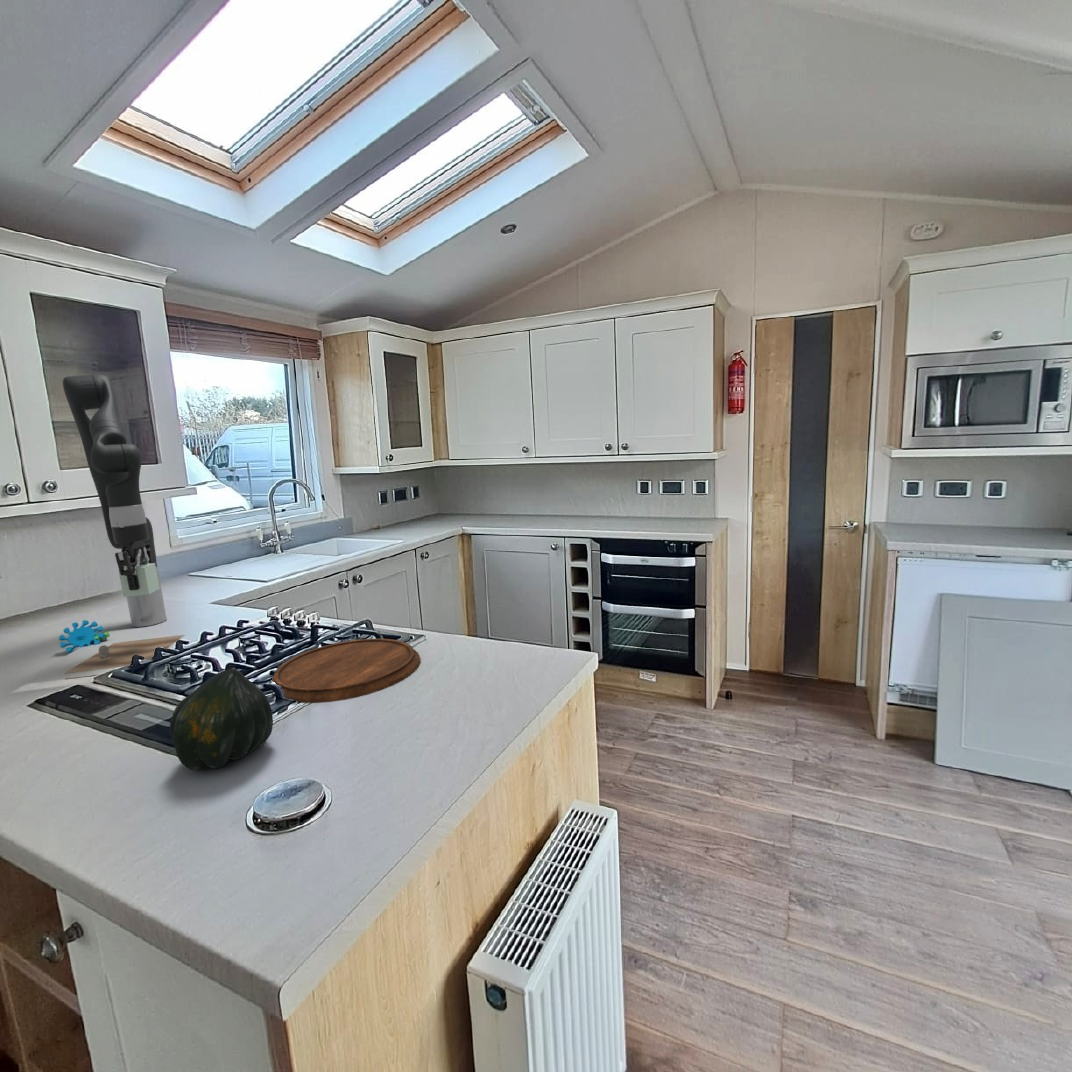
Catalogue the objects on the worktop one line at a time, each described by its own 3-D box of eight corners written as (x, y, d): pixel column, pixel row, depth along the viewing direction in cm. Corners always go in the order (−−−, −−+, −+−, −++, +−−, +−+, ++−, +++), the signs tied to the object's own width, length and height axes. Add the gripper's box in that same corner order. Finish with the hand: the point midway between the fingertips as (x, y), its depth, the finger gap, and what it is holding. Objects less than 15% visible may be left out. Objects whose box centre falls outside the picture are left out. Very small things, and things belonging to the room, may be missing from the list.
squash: (131, 750, 89) (184, 676, 87) (193, 709, 103) (239, 645, 102) (207, 806, 89) (261, 733, 87) (258, 757, 104) (305, 694, 102)
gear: (53, 652, 154) (62, 619, 160) (60, 663, 158) (68, 630, 164) (104, 650, 158) (111, 617, 164) (109, 660, 162) (116, 628, 168)
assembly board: (114, 648, 159) (110, 629, 158) (186, 640, 162) (182, 620, 161) (65, 679, 138) (60, 657, 137) (148, 669, 140) (144, 647, 140)
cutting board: (234, 697, 121) (232, 685, 121) (336, 643, 151) (334, 634, 150) (363, 711, 110) (361, 698, 109) (446, 650, 139) (444, 640, 139)
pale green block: (135, 591, 155) (130, 565, 154) (159, 588, 156) (155, 563, 155) (123, 596, 149) (118, 570, 148) (149, 594, 150) (144, 567, 149)
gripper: (127, 521, 156) (138, 582, 159) (97, 528, 142) (110, 595, 145) (157, 518, 157) (168, 579, 160) (131, 525, 143) (143, 592, 146)
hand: (140, 586), depth 152 cm, fingers closed on pale green block, 6 cm apart
